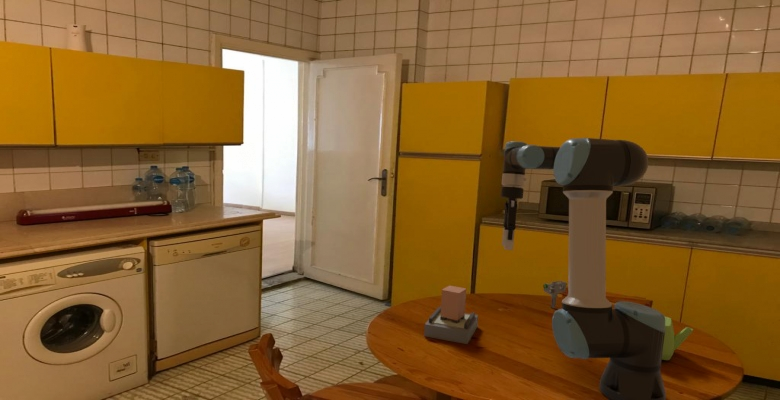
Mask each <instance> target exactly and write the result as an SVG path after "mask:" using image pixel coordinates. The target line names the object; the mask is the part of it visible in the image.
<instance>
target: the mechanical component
mask: <svg viewBox="0 0 780 400" xmlns="http://www.w3.org/2000/svg"><path fill="white" fill-rule="evenodd" d="M567 284H568V283H567V282H566V281H563V280H558V281H557V280H556V281H551V283H550V284H549V283H547V282H546V283H544V284H543V285H542V286H543V292H544V293H547V294H549V295H550V297H551V306H550V308H552V309H556V304H557V298H558V297H559V296H558V294H561V293H565V292H566V290H567V289H566V287H567Z"/></svg>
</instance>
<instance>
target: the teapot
mask: <svg viewBox="0 0 780 400" xmlns="http://www.w3.org/2000/svg"><path fill="white" fill-rule="evenodd" d="M664 317H665V331H666V333H665V335H664V343H663V352H662V361H669V360H671V359H672V358H673V357H672V356H673V355H674V352H675V350H677V349H678V348H679V347H680V346H681V345H682V344H683V342H684V341H685V340H686V339H687V338H688V337H689V336H690V335H691V334H692V333H693V330H694V329H693V328H691V327H687V326H686V327H685V328H683V329H682V330H681V331H679V332H678V333H676V335H675V329H674V324H673V320H672V318H671V317H668V316H665V315H664Z"/></svg>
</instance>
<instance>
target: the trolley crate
mask: <svg viewBox="0 0 780 400" xmlns="http://www.w3.org/2000/svg"><path fill="white" fill-rule="evenodd" d="M440 299H441V300H440V307H441V316H440V319H441V320H446V319H447V318H449V319H453V323H459V319H464V318H465V313H466V301H467V300H466V299H467V288H464V287H459V286H455V285H454V286H453V285H448V286H446V287H444V288H443V289H441V298H440Z"/></svg>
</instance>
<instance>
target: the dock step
mask: <svg viewBox="0 0 780 400" xmlns="http://www.w3.org/2000/svg"><path fill="white" fill-rule="evenodd" d="M440 316H441V306H438V307H437V308H436V309H435V311H434V312H433V313H432V314H430V316H429V318H428V319H427V321H426V322H425V324H424V332H423V337H425V338H431V339H438V340H443V341H447V342H455V343H459V344H465V345H468V344H469V343H470V341H471V339H472V338H473V335H474V334H475V332H476V330H477V328H478V323H479V322H478V321H479V320H478V319H479V315H478V314H476V313H475V312H474V311H473V312H471V313H466V312H465V318H464V319H459V323H453V319H449V318H447V319H446V320H441V319H440Z"/></svg>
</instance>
